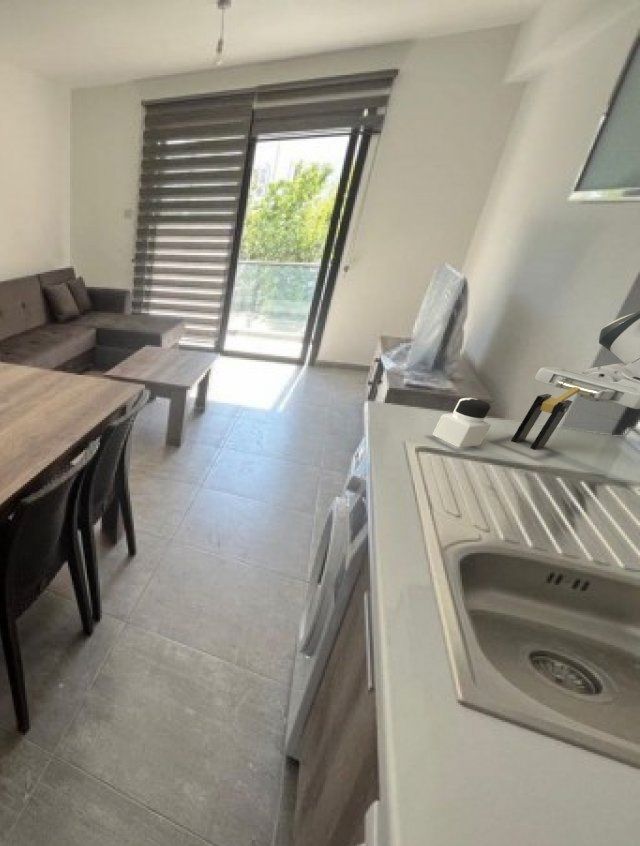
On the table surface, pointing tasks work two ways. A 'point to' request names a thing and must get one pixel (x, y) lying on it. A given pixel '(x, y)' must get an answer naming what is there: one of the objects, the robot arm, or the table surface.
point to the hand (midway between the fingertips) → (576, 389)
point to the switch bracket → (549, 425)
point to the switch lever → (564, 396)
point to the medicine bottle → (464, 423)
